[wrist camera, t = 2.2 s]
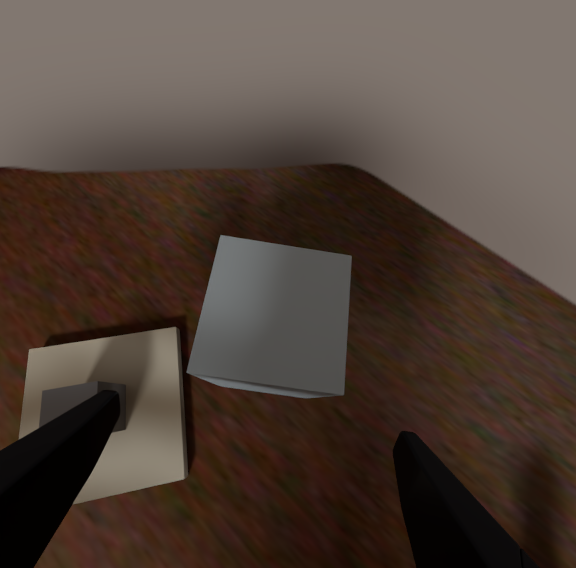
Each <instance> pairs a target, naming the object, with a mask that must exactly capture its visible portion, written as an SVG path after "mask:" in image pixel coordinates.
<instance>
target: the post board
mask: <svg viewBox="0 0 576 568" xmlns="http://www.w3.org/2000/svg"><path fill="white" fill-rule="evenodd" d="M106 389H107V390H114V391H118V392H119V396H120V406H121V413H120V417H119V419H118V421H117V423H116V425H115V427H114V429H113V431H112V433H111V435H110V437H109V440H108V442H107V444H106V446H105V448H104V450H103V452H102V454H101V456H100V458H99V460H98V462H97V464H96V466H95V468H94V469H93V471H92V473H91V475H90V476H89V478H88V480H87V481H86V483H85V485H84V486H83V488H82V489H81V491H80V493H79V494H78V496H77V498H76V499H75V501H74V503H73V504H77V503H81V502H85V501H90V500H94V499H99V498H103V497H107V496H112V495H116V494H121V493H125V492H129V491H134V490H138V489H143V488H147V487H151V486H156V485H160V484H165V483H169V482H173V481H178V480H182V479H185V478H186V477H187V476H188V462H187V445H186V428H185V411H184V394H183V377H182V360H181V343H180V330H179V329H178V328H177V327H172V328H165V329H159V330H152V331H146V332H139V333H133V334H126V335H120V336H113V337H107V338H101V339H94V340H88V341H81V342H75V343H68V344H62V345H55V346H49V347H42V348H36V349H30V350H29V356H28V365H27V373H26V382H25V390H24V399H23V407H22V416H21V424H20V433H19V439H21V438H23V437H24V436H26V435H28V434H29V433H31V432H33V431H34V430H36V429H38V428H39V427H41V426H43V425H45V424H46V423H48V422H50V421H51V420H53V419H55V418H56V417H58V416H60V415H62V414H63V413H65V412H67V411H68V410H70V409H72V408H73V407H75V406H77V405H78V404H80V403H82V402H84V401H85V400H87V399H89V398H90V397H92V396H94V395H95V394H97V393H99V392H101V391H102V390H106Z"/></svg>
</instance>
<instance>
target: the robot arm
mask: <svg viewBox="0 0 576 568" xmlns="http://www.w3.org/2000/svg"><path fill="white" fill-rule="evenodd" d="M120 413H121V406H120V396H119V392H118V391H114V390H107V389H106V390H102V391H101V392H99V393H97V394H95V395H94V396H92V397H90V398H89V399H87V400H85V401H84V402H82V403H80V404H78V405H77V406H75V407H73V408H72V409H70V410H68V411H67V412H65V413H63V414H62V415H60V416H58V417H56V418H55V419H53V420H51V421H50V422H48V423H46V424H45V425H43V426H41V427H39V428H38V429H36V430H34V431H33V432H31V433H29V434H28V435H26V436H24V437H23V438H21V439H19V440H17V441H16V442H14V443H12V444H11V445H9V446H7V447H6V448H4V449H2V450H0V568H34V566H35V565H36V563H37V561H38V560H39V558H40V556H41V555H42V553H43V552H44V550H45V548H46V547H47V545H48V543H49V542H50V540H51V538H52V537H53V535H54V534H55V532H56V530H57V529H58V527H59V525H60V524H61V522H62V520H63V519H64V517H65V516H66V514H67V512H68V511H69V509H70V507H71V506H72V504H73V503H74V501H75V499H76V498H77V496H78V494H79V493H80V491H81V489H82V488H83V486H84V485H85V483H86V481H87V480H88V478H89V476H90V475H91V473H92V471H93V469H94V468H95V466H96V464H97V462H98V460H99V458H100V456H101V454H102V452H103V450H104V448H105V446H106V444H107V442H108V440H109V437H110V435H111V433H112V431H113V429H114V427H115V425H116V423H117V421H118V419H119V417H120ZM393 458H394V465H395V471H396V478H397V484H398V490H399V497H400V502H401V508H402V512H403V517H404V521H405V525H406V528H407V532H408V536H409V540H410V544H411V548H412V552H413V556H414V560H415V564H416V568H540V567H539V566H538V565H537V564H536V563H535V562H534V561H533V560H532V559H531V558H530V557H529V556H528V555H527V553H526V552H525V551H524V550H523V549H521V548H520V547H519V545H518V544H517V543H516V542H515V541H514V540H513V538H512V537H511V536H510V535H509V534H508V533H507V532H506V531H505V530H504V529H503V528H502V527H501V525H500V524H499V523H498V522H497V521H496V520H495V519H494V518H493V517H492V516H491V515H490V514H489V512H488V511H487V510H486V509H485V508H484V507H483V506H482V505H481V504H480V503H479V502H478V501H477V499H476V498H475V497H474V496H473V495H472V494H471V493H470V492H469V491H468V490H467V489H466V488H465V486H464V485H463V484H462V483H461V482H460V481H459V480H458V479H457V478H456V477H455V476H454V475H453V473H452V472H451V471H450V470H449V469H448V468H447V467H446V466H445V465H444V464H443V463H442V462H441V460H440V459H439V458H438V457H437V456H436V455H435V454H434V453H433V452H432V451H431V450H430V449H429V447H428V446H427V445H426V444H425V443H424V442H423V441H422V440H421V439H420V438H419V437H418V436H417V435H416V434H415V433H413V432H408V431H401V432H400V434H399V436H398V438H397V441H396V443H395V446H394V448H393Z"/></svg>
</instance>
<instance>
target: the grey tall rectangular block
mask: <svg viewBox="0 0 576 568" xmlns="http://www.w3.org/2000/svg"><path fill="white" fill-rule="evenodd" d="M351 261H352V256H350V255H344V254H337V253H331V252H325V251H318V250H312V249H306V248H299V247H293V246H287V245H280V244H274V243H268V242H261V241H255V240H249V239H242V238H236V237H230V236H223V235H220V240H219V244H218V248H217V252H216V256H215V260H214V264H213V268H212V272H211V276H210V280H209V284H208V288H207V292H206V296H205V300H204V304H203V308H202V312H201V316H200V320H199V324H198V328H197V332H196V336H195V340H194V344H193V348H192V352H191V356H190V360H189V364H188V368H187V372H186V373H188V374H191V375H193V376H196V377H199V378H201V379H204V380H206V381H209V382H211V383H214V384H216V385H219V386H222V387H229V388H236V389H243V390H250V391H257V392H264V393H272V394H279V395H286V396H293V397H300V398H316V397H328V396H340V395H344V386H345V368H346V350H347V332H348V314H349V297H350V279H351Z"/></svg>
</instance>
